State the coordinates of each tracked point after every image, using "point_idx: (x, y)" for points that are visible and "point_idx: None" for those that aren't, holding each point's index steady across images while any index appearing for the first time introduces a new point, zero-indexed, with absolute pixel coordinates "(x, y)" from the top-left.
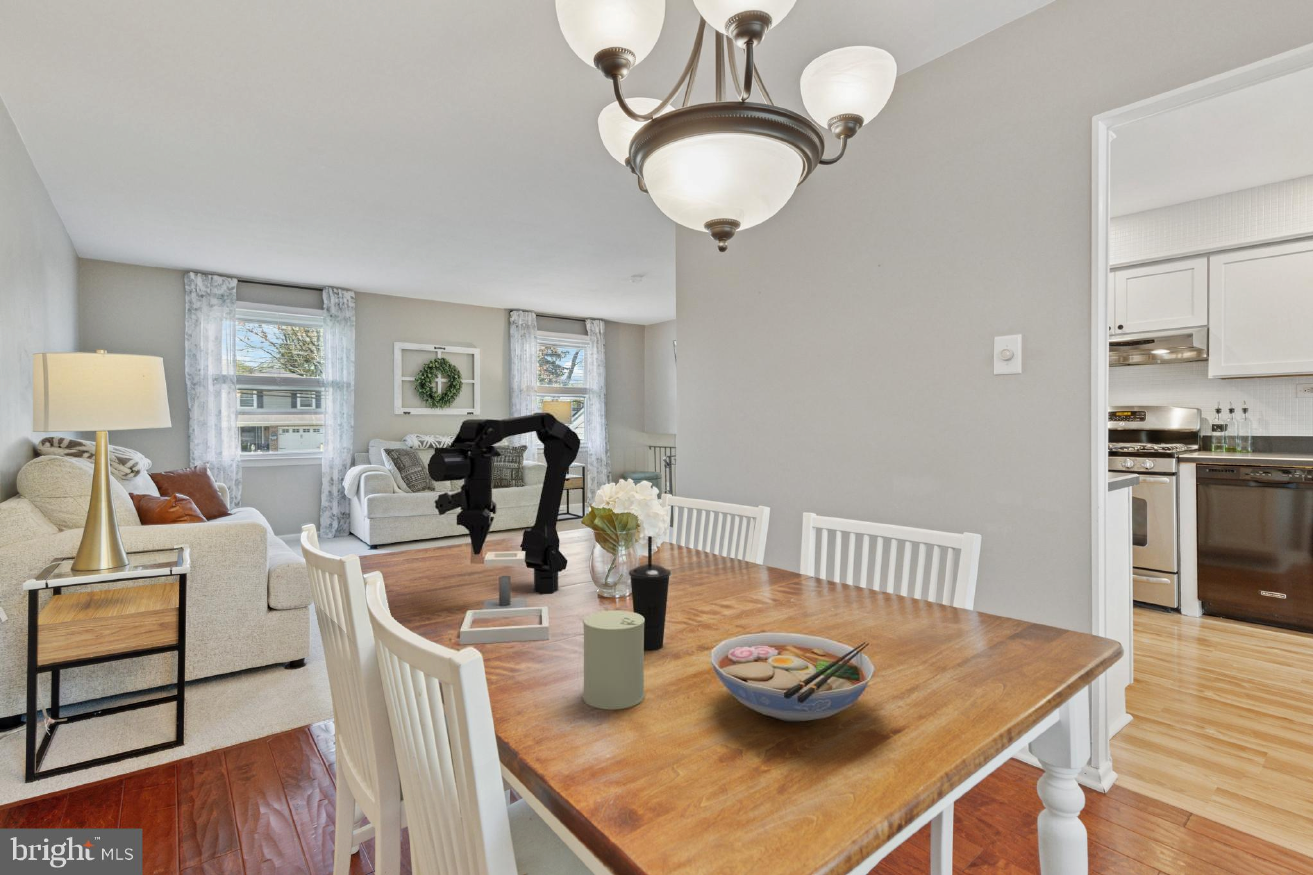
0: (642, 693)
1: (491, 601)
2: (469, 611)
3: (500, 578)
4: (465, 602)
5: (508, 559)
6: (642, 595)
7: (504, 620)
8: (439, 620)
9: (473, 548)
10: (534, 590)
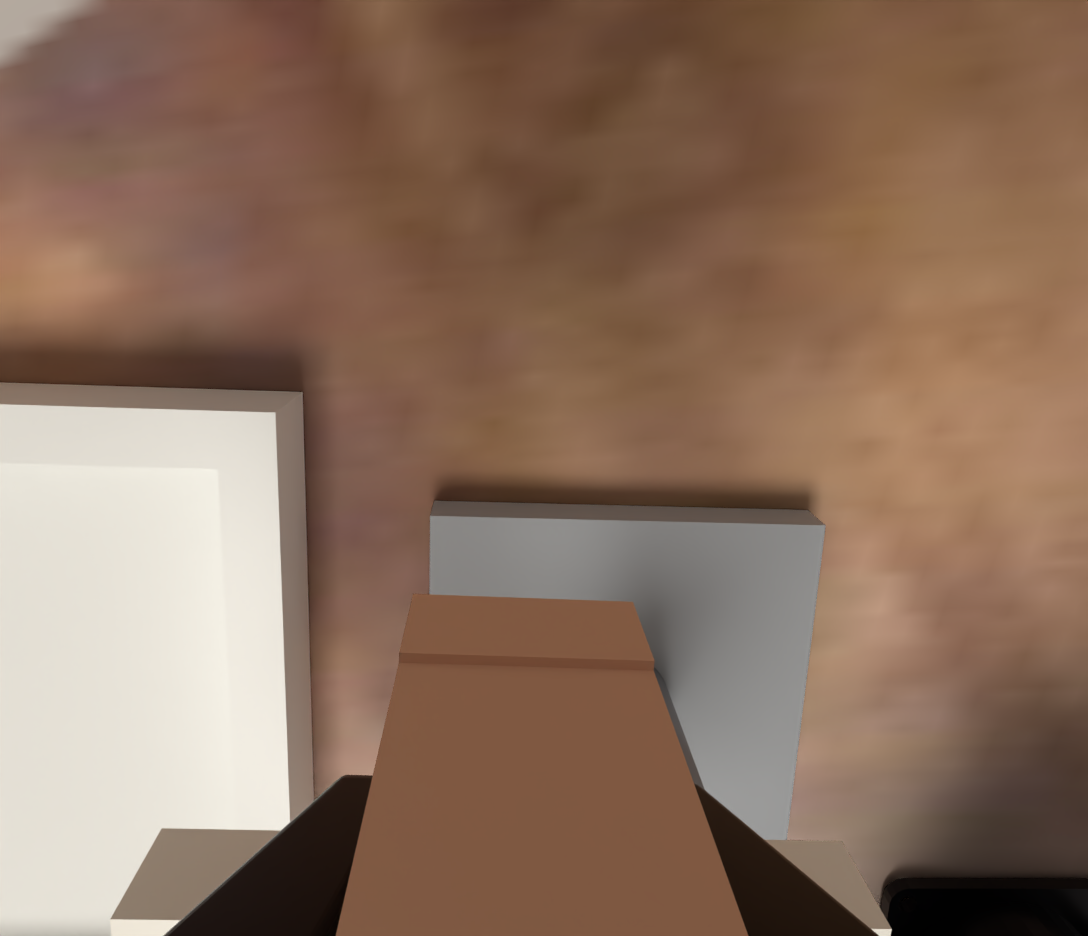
0: None
1: (754, 586)
2: (235, 434)
3: None
4: (965, 327)
5: None
6: None
7: (324, 682)
8: (419, 126)
9: (263, 857)
10: (989, 927)
